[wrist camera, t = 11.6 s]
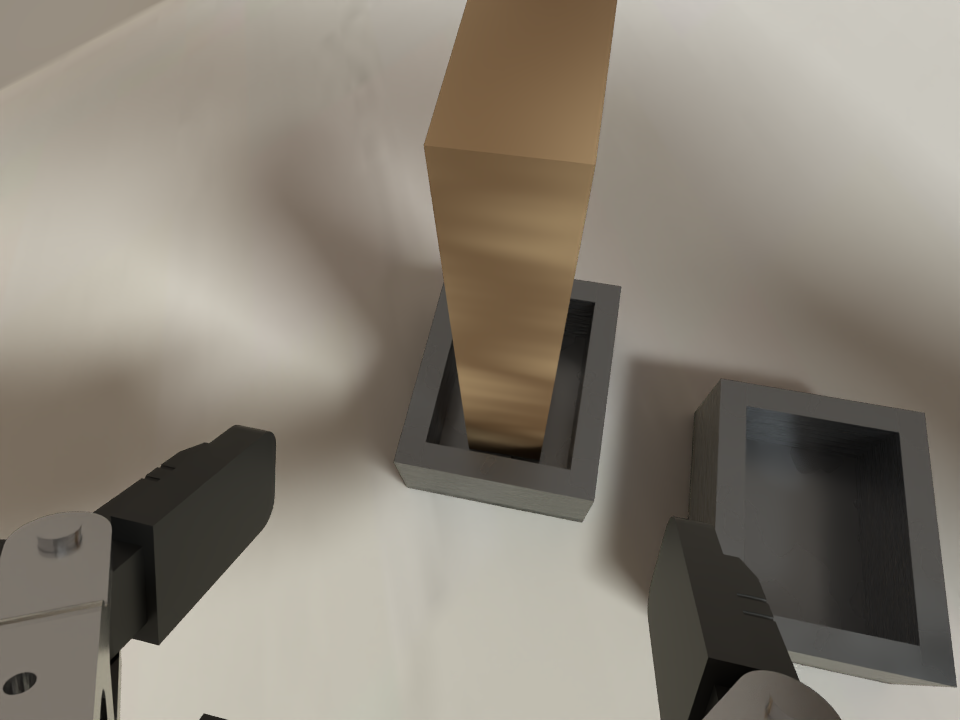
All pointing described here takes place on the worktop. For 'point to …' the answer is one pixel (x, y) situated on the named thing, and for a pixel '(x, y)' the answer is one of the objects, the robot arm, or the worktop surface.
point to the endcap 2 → (830, 526)
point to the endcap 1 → (569, 430)
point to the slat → (515, 200)
